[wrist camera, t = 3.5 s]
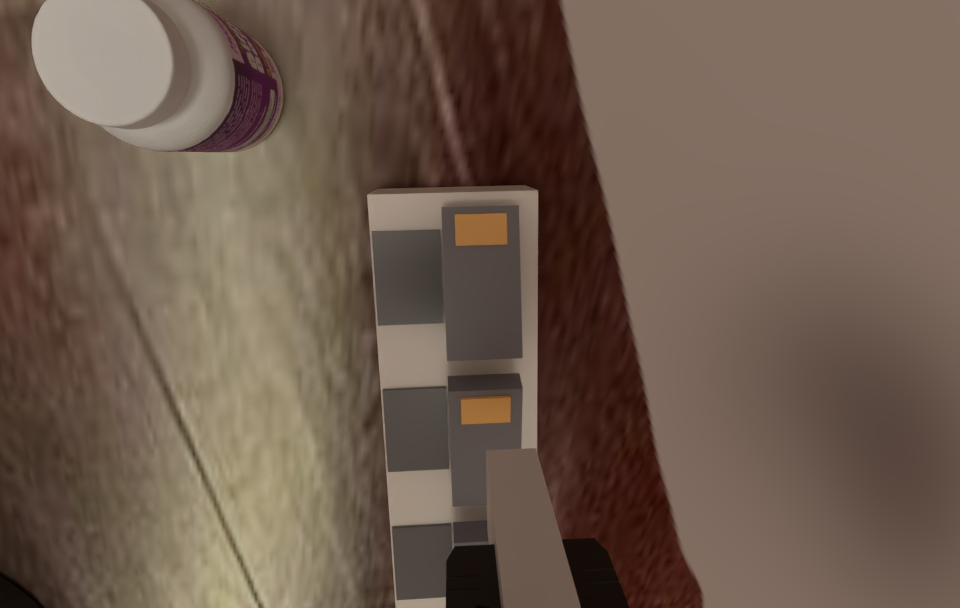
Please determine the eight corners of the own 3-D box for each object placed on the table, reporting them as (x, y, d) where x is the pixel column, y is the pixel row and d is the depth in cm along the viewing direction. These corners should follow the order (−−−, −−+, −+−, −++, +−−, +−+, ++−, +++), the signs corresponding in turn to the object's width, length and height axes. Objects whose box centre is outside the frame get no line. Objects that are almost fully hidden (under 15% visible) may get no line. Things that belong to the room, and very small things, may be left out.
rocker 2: (452, 487, 27) (452, 509, 26) (447, 375, 24) (447, 394, 23) (516, 484, 27) (520, 505, 26) (519, 373, 24) (523, 390, 23)
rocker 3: (456, 613, 29) (457, 639, 27) (453, 522, 26) (453, 546, 25) (517, 610, 29) (520, 635, 28) (519, 518, 26) (523, 542, 25)
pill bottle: (303, 59, 26) (225, 7, 17) (263, 171, 27) (168, 181, 18) (184, 2, 25) (30, -86, 16) (147, 119, 26) (-18, 102, 17)
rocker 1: (446, 356, 24) (446, 361, 23) (441, 209, 24) (441, 206, 22) (518, 353, 24) (523, 358, 23) (515, 207, 24) (519, 204, 22)
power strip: (402, 567, 33) (395, 634, 28) (378, 188, 27) (364, 195, 23) (525, 559, 33) (538, 624, 29) (525, 185, 28) (540, 191, 23)
